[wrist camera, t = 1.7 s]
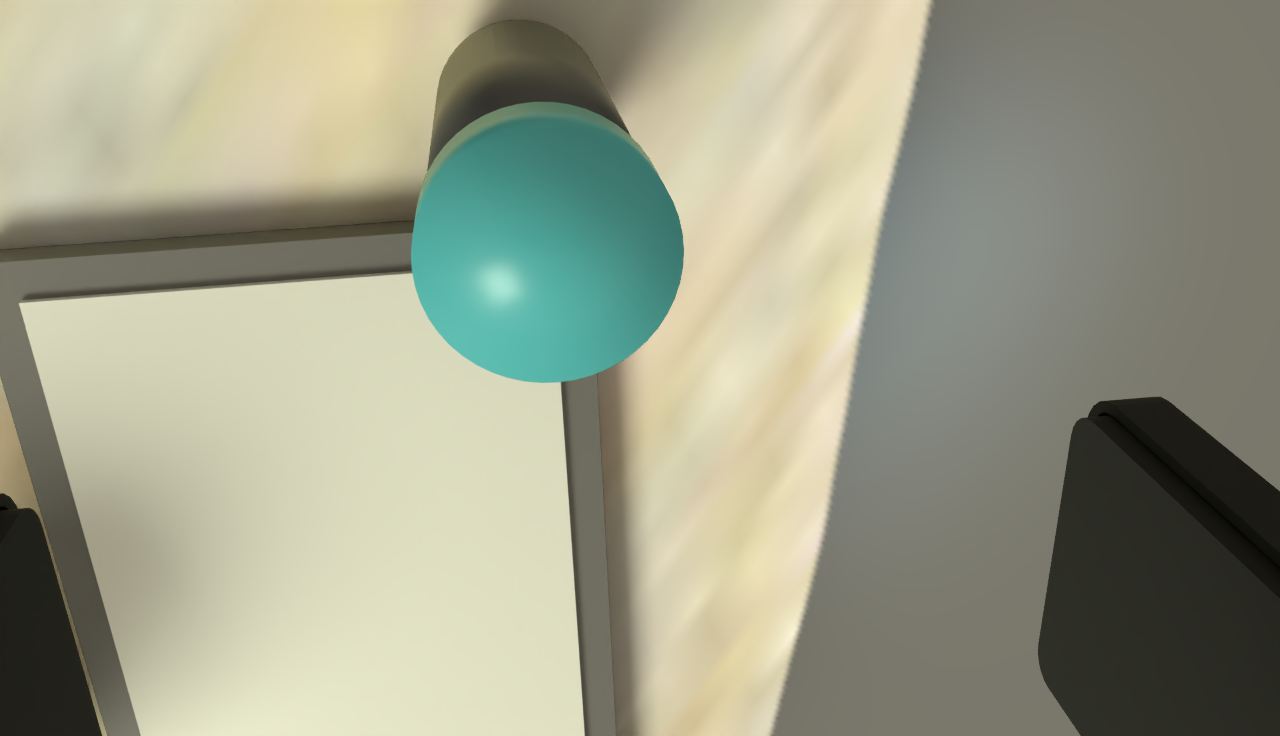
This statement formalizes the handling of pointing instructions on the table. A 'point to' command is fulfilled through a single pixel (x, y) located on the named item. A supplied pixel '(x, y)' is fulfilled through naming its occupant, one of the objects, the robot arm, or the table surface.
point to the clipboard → (304, 494)
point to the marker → (539, 213)
